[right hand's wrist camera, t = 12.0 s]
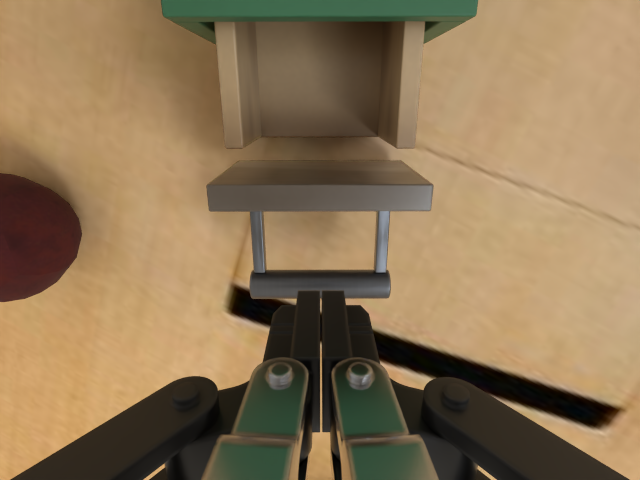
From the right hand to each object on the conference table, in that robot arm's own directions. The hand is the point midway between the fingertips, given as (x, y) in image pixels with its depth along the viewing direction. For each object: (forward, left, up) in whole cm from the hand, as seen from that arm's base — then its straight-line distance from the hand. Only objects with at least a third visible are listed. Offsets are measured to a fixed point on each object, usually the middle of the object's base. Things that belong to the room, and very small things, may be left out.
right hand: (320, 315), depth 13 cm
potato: (0, +18, -13) cm, 22 cm away
